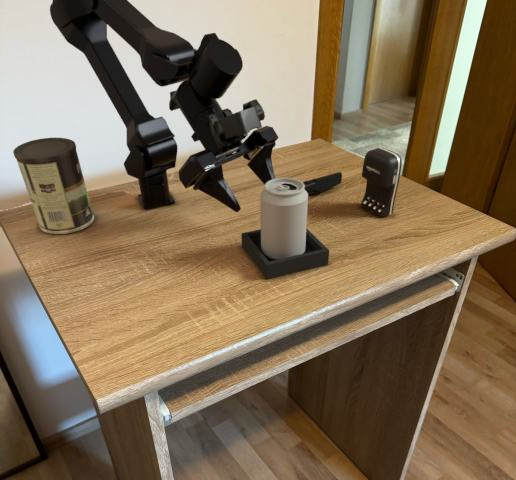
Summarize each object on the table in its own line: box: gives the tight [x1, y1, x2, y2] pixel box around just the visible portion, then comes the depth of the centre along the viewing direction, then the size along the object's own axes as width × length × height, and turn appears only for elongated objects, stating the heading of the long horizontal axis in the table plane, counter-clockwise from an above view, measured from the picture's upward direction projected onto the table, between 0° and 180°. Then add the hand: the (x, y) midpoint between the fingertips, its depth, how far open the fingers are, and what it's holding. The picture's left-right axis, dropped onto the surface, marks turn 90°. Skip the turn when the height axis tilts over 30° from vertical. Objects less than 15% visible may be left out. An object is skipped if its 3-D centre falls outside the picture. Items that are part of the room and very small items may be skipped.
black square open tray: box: [240, 227, 330, 280], centre depth 82 cm, size 11×11×3 cm
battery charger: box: [360, 147, 403, 217], centre depth 91 cm, size 7×4×11 cm, turn 32°
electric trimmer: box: [302, 171, 343, 196], centre depth 100 cm, size 4×16×3 cm, turn 123°
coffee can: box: [12, 137, 95, 235], centre depth 89 cm, size 10×10×14 cm
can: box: [259, 177, 309, 260], centre depth 79 cm, size 8×8×12 cm
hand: (257, 201), depth 80 cm, fingers open, 9 cm apart
